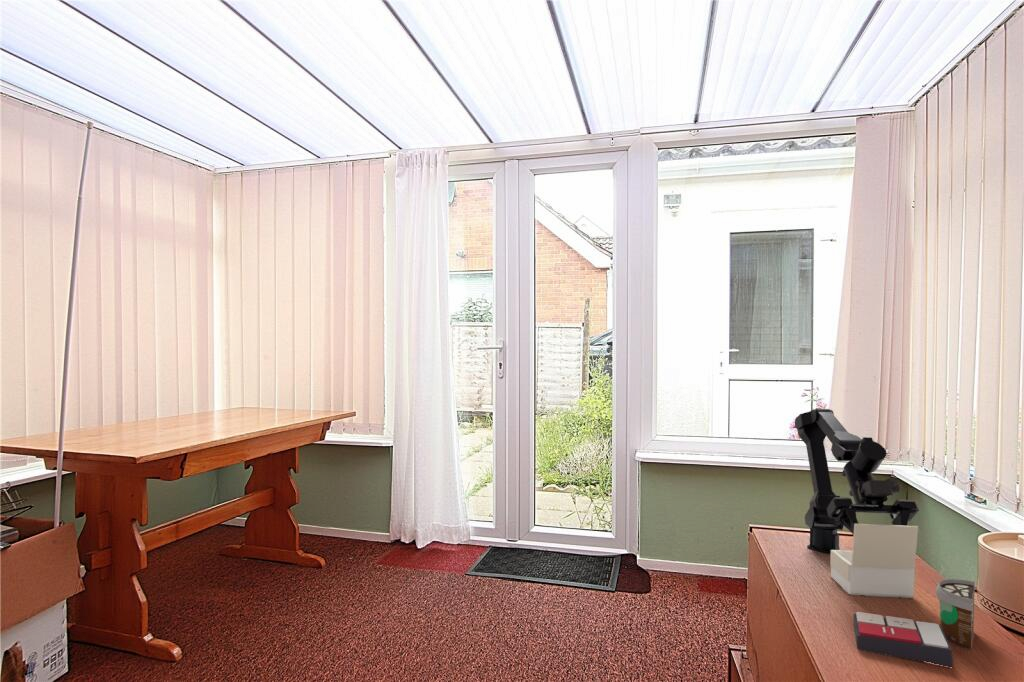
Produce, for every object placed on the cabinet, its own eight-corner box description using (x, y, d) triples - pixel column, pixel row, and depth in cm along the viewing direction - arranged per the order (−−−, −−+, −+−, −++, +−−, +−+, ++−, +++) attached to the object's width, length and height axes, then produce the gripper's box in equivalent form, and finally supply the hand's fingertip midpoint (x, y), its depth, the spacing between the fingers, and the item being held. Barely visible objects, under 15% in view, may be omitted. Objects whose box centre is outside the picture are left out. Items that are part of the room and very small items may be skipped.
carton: (829, 578, 151) (830, 549, 151) (891, 581, 150) (892, 552, 150) (848, 594, 141) (848, 564, 141) (914, 598, 140) (915, 567, 140)
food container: (937, 620, 129) (938, 573, 129) (973, 629, 125) (974, 580, 125) (931, 642, 119) (932, 591, 119) (970, 653, 115) (971, 600, 115)
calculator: (852, 609, 126) (940, 621, 119) (853, 630, 126) (941, 643, 119) (856, 631, 116) (952, 646, 110) (857, 654, 116) (953, 670, 109)
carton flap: (854, 523, 140) (855, 524, 139) (916, 526, 138) (918, 527, 138) (851, 564, 141) (852, 565, 140) (913, 567, 140) (914, 568, 139)
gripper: (833, 463, 146) (853, 524, 135) (915, 466, 144) (943, 528, 133) (818, 488, 153) (836, 547, 143) (896, 491, 152) (921, 550, 141)
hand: (883, 542), depth 140 cm, fingers open, 9 cm apart
